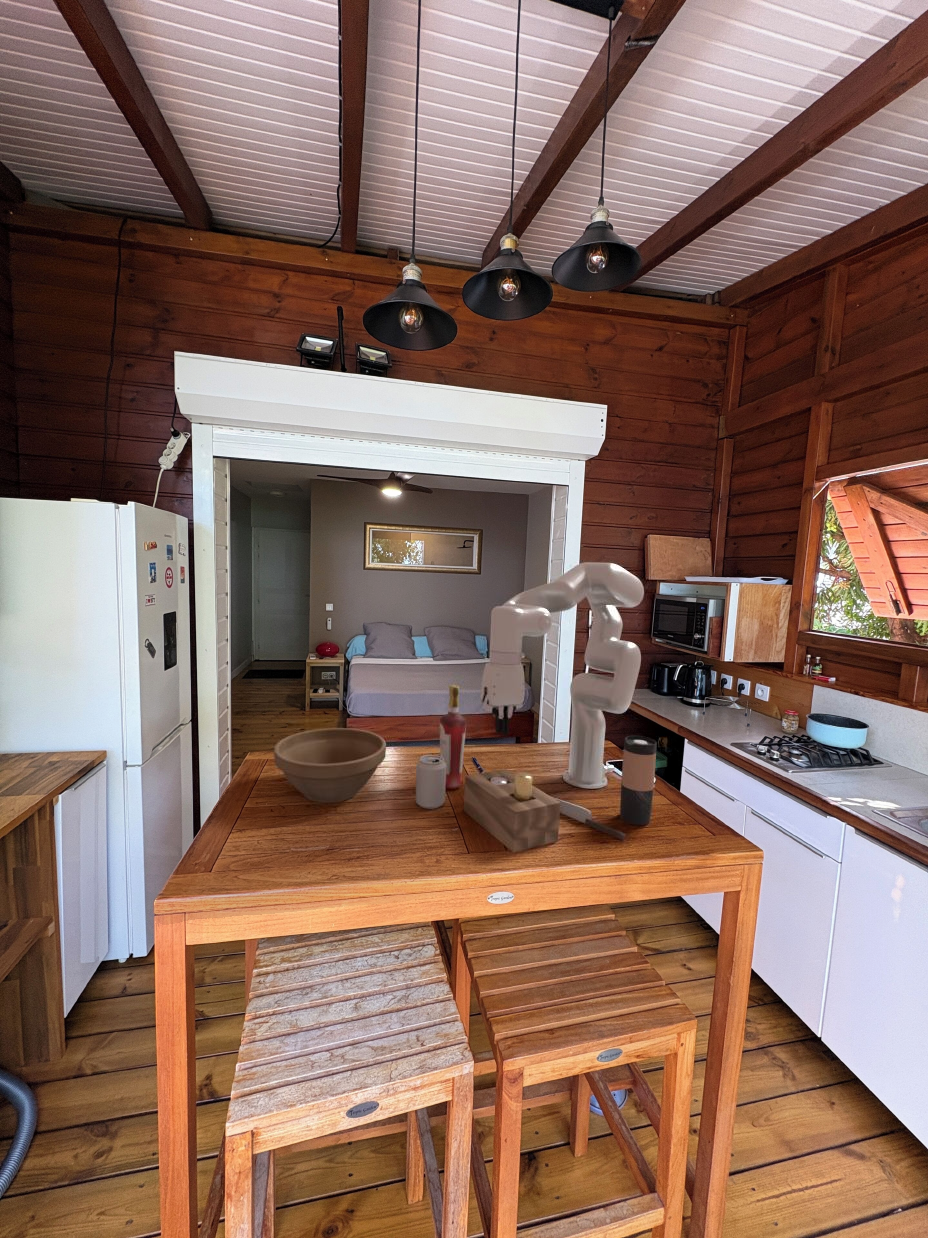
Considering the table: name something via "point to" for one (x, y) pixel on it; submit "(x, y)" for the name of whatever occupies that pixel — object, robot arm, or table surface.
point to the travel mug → (637, 779)
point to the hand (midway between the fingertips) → (501, 733)
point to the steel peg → (498, 781)
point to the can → (430, 781)
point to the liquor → (453, 741)
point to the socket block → (511, 811)
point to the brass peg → (523, 786)
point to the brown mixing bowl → (330, 761)
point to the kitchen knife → (587, 818)
